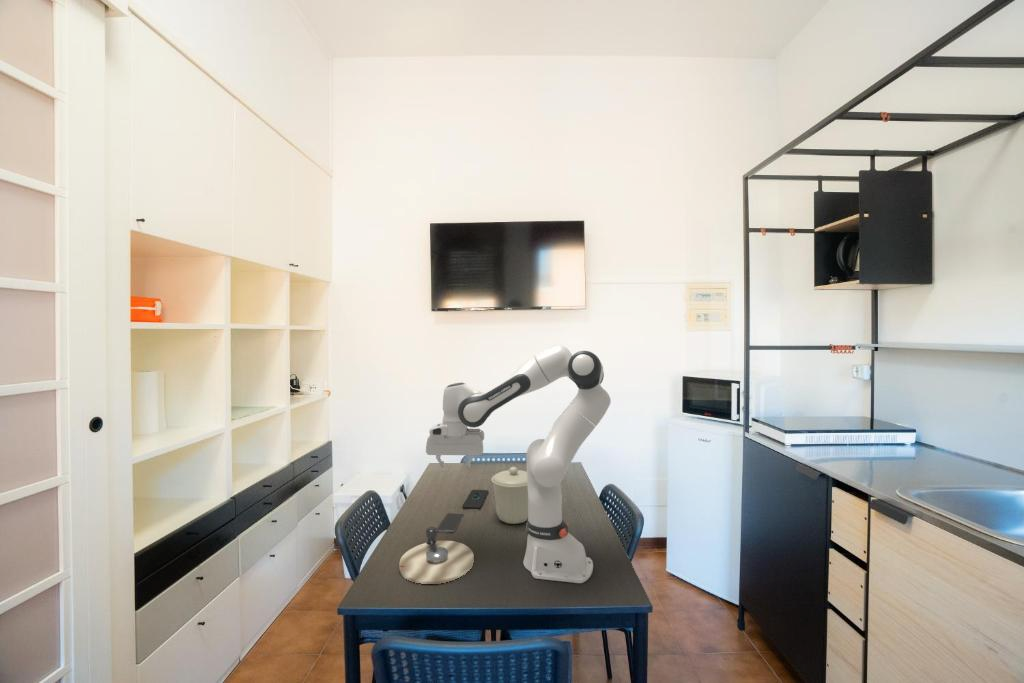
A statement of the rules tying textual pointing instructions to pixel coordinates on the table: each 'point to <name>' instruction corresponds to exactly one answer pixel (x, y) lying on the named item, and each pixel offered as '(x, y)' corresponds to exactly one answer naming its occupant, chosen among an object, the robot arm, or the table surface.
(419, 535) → the table surface
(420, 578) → the base
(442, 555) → the crank handle
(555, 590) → the table surface
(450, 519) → the smartphone
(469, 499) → the smart home device
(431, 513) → the table surface
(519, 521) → the canister
